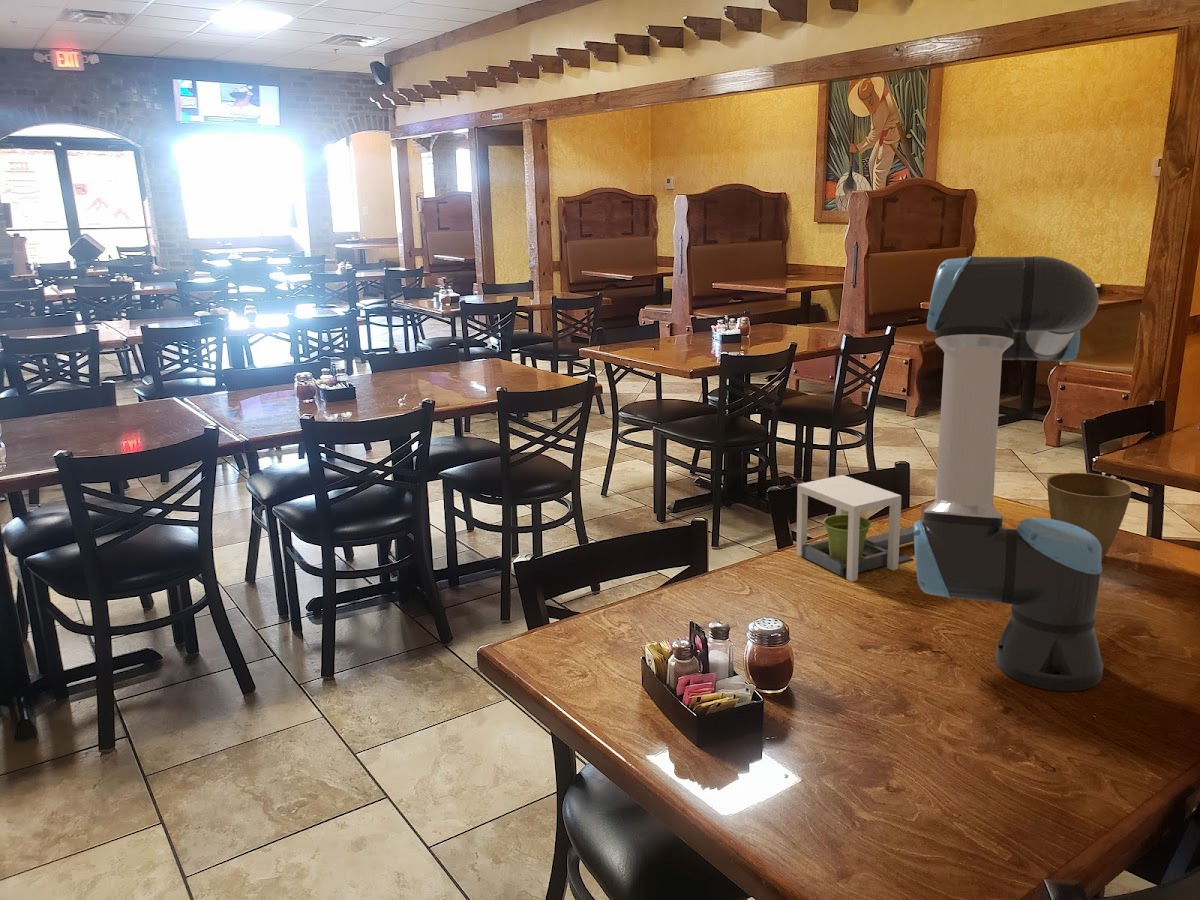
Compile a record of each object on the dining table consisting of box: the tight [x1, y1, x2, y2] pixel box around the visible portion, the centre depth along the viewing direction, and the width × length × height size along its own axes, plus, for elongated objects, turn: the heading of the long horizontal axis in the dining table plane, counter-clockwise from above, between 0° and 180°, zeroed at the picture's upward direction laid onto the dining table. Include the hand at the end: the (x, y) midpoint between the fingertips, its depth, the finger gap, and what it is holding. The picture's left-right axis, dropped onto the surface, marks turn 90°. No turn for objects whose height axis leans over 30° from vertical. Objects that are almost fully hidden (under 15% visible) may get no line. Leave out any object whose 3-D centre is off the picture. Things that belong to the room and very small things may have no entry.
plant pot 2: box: [1046, 472, 1133, 562], centre depth 183 cm, size 15×15×16 cm
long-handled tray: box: [801, 502, 933, 578], centre depth 192 cm, size 12×33×6 cm, turn 117°
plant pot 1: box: [823, 513, 872, 562], centre depth 187 cm, size 9×9×9 cm
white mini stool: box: [796, 474, 914, 583], centre depth 188 cm, size 17×18×16 cm
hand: (965, 483), depth 200 cm, fingers closed
